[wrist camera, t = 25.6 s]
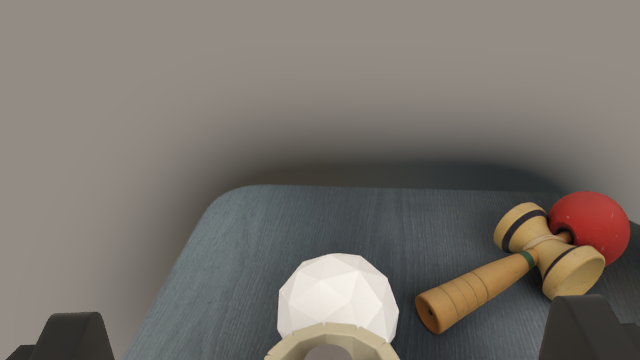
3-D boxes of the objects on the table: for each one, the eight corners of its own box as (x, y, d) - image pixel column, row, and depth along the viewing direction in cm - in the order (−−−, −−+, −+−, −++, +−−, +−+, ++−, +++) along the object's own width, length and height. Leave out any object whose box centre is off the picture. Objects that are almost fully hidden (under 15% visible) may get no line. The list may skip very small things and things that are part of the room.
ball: (345, 358, 44) (386, 256, 44) (388, 415, 37) (438, 292, 37) (248, 331, 42) (291, 223, 42) (274, 385, 34) (326, 254, 34)
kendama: (472, 387, 40) (660, 266, 46) (458, 312, 37) (660, 193, 43) (405, 328, 47) (577, 228, 52) (389, 261, 44) (572, 163, 50)
